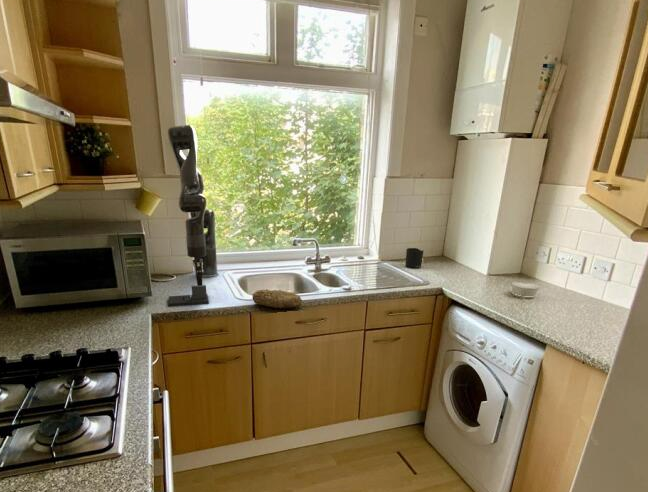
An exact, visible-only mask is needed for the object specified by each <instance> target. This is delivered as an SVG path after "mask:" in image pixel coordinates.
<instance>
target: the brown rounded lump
mask: <svg viewBox="0 0 648 492" xmlns="http://www.w3.org/2000/svg"><path fill="white" fill-rule="evenodd" d="M251 297H252V300H253V302H254V304H257V305H260V306H263V307H264V306H265V307H269V308H273V309H293V308H297V307H300V306H302V305H303V299H302V297H301V296H300V295H299V294H296V293H294V292H289V291H285V290H281V289H280V290H279V289H275V290H269V289H257V290H255V292H253V293H252V296H251Z"/></svg>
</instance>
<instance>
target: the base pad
mask: <svg viewBox="0 0 648 492" xmlns="http://www.w3.org/2000/svg"><path fill="white" fill-rule="evenodd" d="M184 297H191V294H185V295H183V294H181V295H169V296H168V305H167V306H168V307H180V306H191V305H192V302H191V300H186V301H184Z"/></svg>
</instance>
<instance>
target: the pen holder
mask: <svg viewBox="0 0 648 492" xmlns="http://www.w3.org/2000/svg"><path fill="white" fill-rule="evenodd" d="M405 251H406V252H405V267H406V268H408V269H412V270H413V269H414V270H415V269H416V270H417V269H421V268H422V264H423V257H424V250H422V249H419V248H418V247H408V248H406V250H405Z"/></svg>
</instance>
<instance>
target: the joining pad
mask: <svg viewBox="0 0 648 492" xmlns="http://www.w3.org/2000/svg"><path fill="white" fill-rule="evenodd" d="M186 300H191V305H195V306H196V305H208V304H209V303H210V301H209V296H208V293H207V285H206V284H203V285H201V286H198V285H197V284H196V285H191V294H190V297H184V300H183V301H186Z"/></svg>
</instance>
